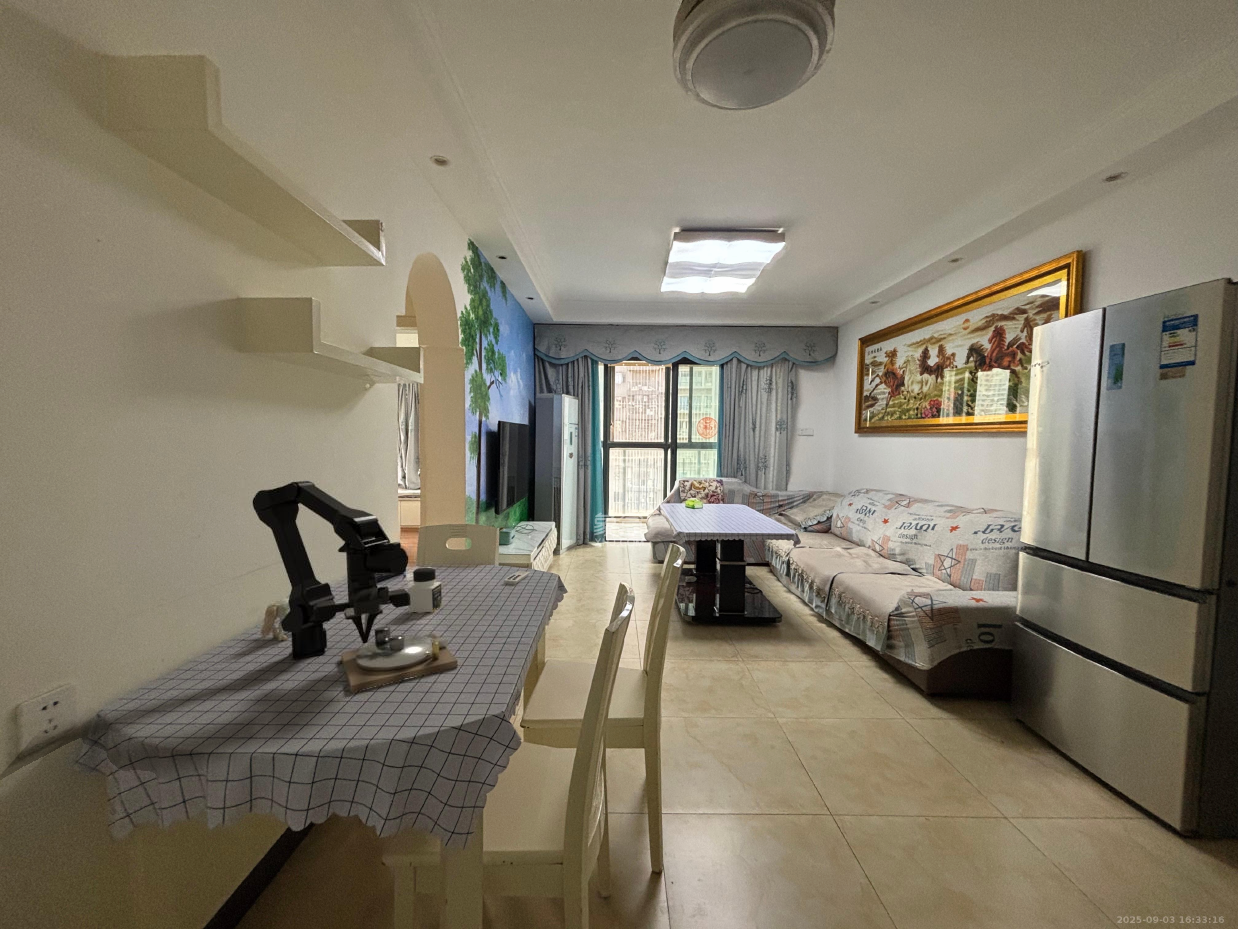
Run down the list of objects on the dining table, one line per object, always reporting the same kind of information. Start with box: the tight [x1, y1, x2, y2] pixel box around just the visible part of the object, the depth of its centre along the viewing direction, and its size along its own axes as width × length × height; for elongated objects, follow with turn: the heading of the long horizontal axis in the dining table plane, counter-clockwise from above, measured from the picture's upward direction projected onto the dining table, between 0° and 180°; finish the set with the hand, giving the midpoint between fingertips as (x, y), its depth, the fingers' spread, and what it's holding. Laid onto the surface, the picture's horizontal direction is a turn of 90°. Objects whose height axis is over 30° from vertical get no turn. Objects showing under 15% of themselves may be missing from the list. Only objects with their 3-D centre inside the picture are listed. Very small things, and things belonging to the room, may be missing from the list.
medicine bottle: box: [407, 566, 443, 613], centre depth 152 cm, size 7×7×12 cm
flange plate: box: [356, 625, 449, 671], centre depth 114 cm, size 18×16×4 cm
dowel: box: [432, 642, 439, 660], centre depth 111 cm, size 1×1×4 cm
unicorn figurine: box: [260, 594, 290, 642], centre depth 135 cm, size 7×20×13 cm, turn 12°
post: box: [389, 634, 406, 651], centre depth 113 cm, size 3×3×2 cm
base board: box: [340, 633, 459, 694], centre depth 114 cm, size 20×20×2 cm
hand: (364, 642), depth 116 cm, fingers closed
